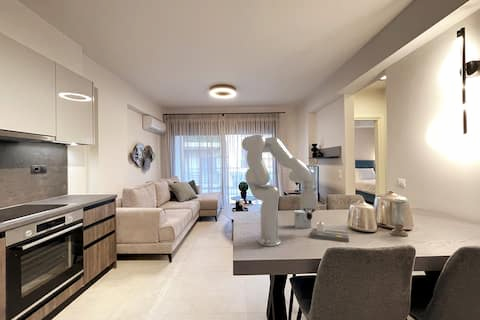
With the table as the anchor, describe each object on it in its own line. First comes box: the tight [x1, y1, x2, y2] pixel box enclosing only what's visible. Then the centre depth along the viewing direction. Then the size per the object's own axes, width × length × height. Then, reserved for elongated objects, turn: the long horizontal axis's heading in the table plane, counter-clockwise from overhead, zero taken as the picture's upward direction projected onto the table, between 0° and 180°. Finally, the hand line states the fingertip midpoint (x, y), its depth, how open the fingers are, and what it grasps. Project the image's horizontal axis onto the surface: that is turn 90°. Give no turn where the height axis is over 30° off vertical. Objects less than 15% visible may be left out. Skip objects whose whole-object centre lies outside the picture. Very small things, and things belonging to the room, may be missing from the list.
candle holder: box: [389, 199, 409, 237], centre depth 137 cm, size 9×9×20 cm
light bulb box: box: [293, 209, 312, 229], centre depth 155 cm, size 11×7×11 cm, turn 84°
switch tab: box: [316, 221, 326, 232], centre depth 136 cm, size 4×4×6 cm
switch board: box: [310, 227, 350, 243], centre depth 134 cm, size 12×20×3 cm, turn 66°
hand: (309, 219), depth 140 cm, fingers closed
